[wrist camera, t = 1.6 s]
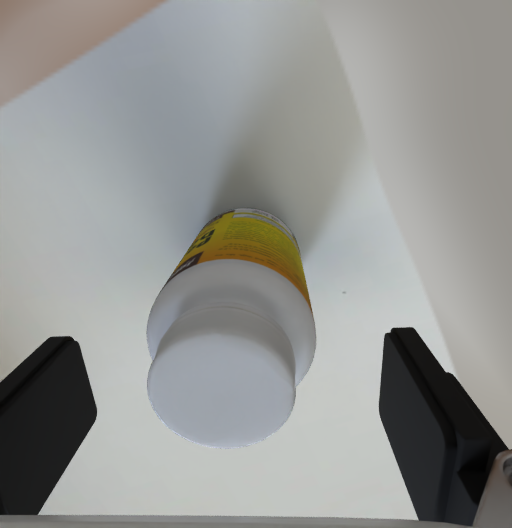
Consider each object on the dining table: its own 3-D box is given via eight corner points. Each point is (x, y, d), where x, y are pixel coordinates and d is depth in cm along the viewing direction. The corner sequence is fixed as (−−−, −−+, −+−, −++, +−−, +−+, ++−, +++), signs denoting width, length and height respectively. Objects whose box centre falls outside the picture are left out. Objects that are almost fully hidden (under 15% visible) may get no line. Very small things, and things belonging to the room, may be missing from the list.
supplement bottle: (217, 186, 17) (153, 262, 8) (318, 232, 18) (370, 354, 9) (179, 280, 19) (91, 431, 10) (271, 318, 20) (272, 494, 10)
